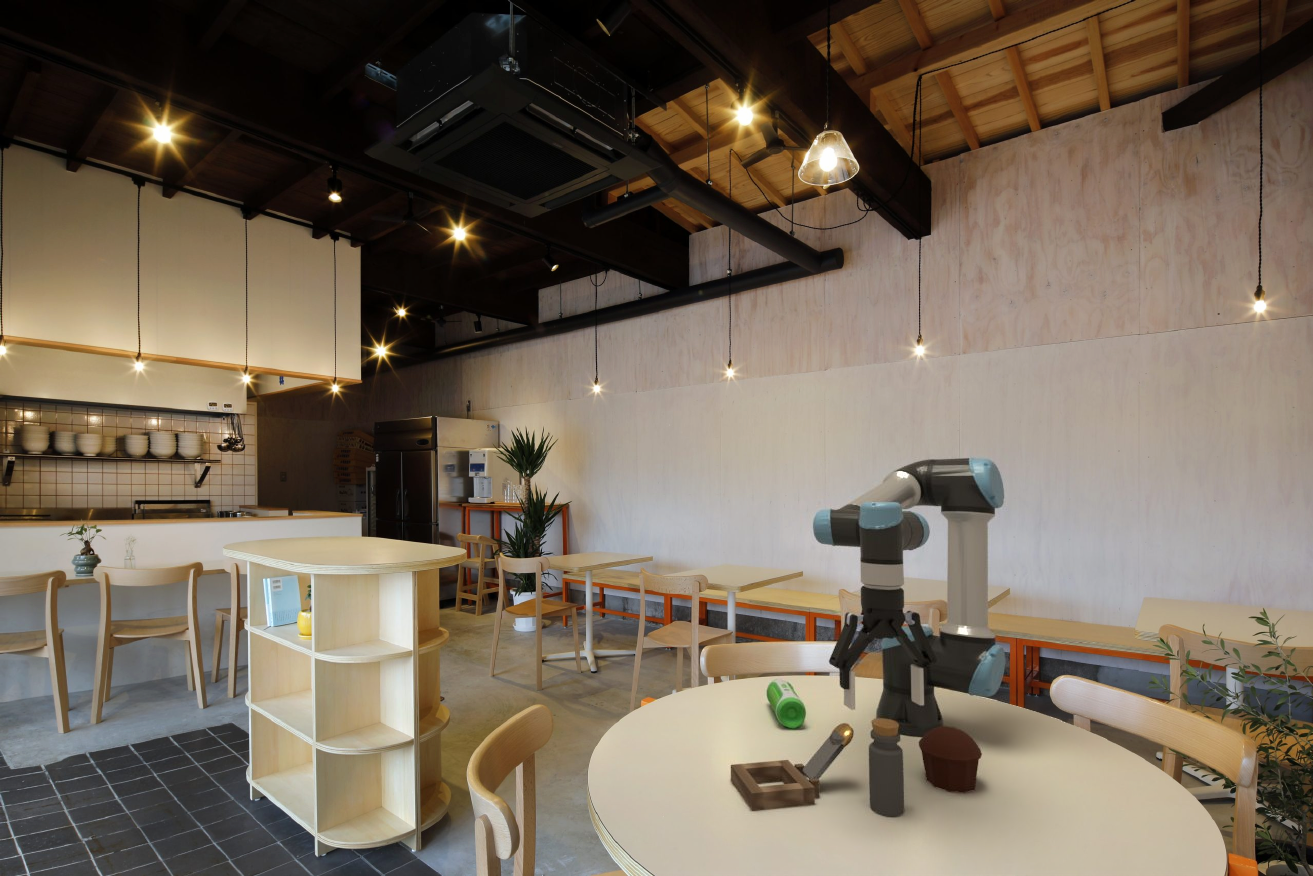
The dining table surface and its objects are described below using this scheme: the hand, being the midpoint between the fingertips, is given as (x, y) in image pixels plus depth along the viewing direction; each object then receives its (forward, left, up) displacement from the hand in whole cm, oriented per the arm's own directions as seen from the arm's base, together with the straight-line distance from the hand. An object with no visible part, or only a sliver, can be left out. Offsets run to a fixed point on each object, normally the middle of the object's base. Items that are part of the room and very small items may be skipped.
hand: (884, 705), depth 116 cm
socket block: (+18, -10, -18) cm, 27 cm away
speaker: (-1, -47, -19) cm, 50 cm away
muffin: (-18, -7, -18) cm, 27 cm away
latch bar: (+6, -10, -12) cm, 17 cm away
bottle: (0, 0, -18) cm, 18 cm away
